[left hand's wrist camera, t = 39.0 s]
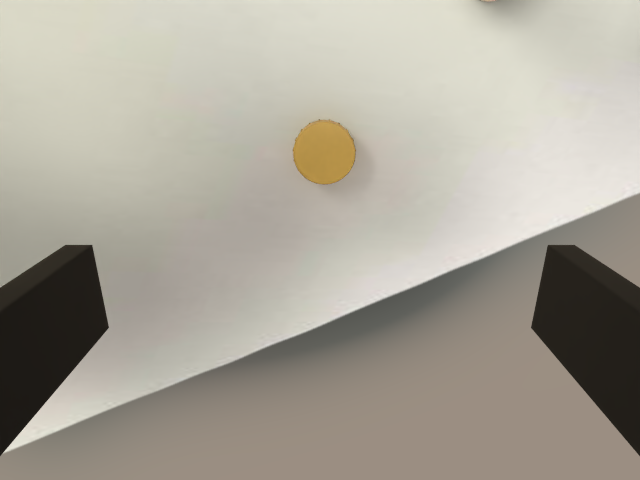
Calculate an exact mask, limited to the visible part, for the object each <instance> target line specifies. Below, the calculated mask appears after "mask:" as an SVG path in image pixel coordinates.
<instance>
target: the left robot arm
mask: <svg viewBox="0 0 640 480" xmlns="http://www.w3.org/2000/svg"><path fill="white" fill-rule="evenodd" d="M108 328H109V326H108V321H107V316H106V311H105V306H104V301H103V297H102V292H101V287H100V282H99V277H98V272H97V267H96V262H95V257H94V252H93V247H92V245H65V246H63V247H62V248H60V249H59V250H57V251H56V252H54V253H53V254H51V255H50V256H48V257H47V258H45V259H43V260H42V261H40V262H39V263H37V264H36V265H34V266H33V267H31V268H30V269H28V270H27V271H25V272H24V273H22V274H21V275H19V276H18V277H16V278H14V279H13V280H11V281H10V282H8V283H7V284H5V285H4V286H2V287H1V288H0V456H1V454H2V453H3V452H4V451H5V450H6V449H7V447H8V446H9V445H10V444H11V443H12V441H13V440H14V439H15V438H16V437H17V436H18V434H19V433H20V432H21V431H22V430H23V428H24V427H25V426H26V425H27V424H28V423H29V421H30V420H31V419H32V418H33V417H34V415H35V414H36V413H37V412H38V411H39V410H40V408H41V407H42V406H43V405H44V404H45V402H46V401H47V400H48V399H49V398H50V397H51V395H52V394H53V393H54V392H55V391H56V389H57V388H58V387H59V386H60V385H61V384H62V382H63V381H64V380H65V379H66V378H67V376H68V375H69V374H70V373H71V372H72V371H73V369H74V368H75V367H76V366H77V365H78V363H79V362H80V361H81V360H82V359H83V358H84V356H85V355H86V354H87V353H88V352H89V351H90V349H91V348H92V347H93V346H94V345H95V343H96V342H97V341H98V340H99V339H100V338H101V336H102V335H103V334H104V333H105V332H106V330H107V329H108ZM531 328H532V329H533V330H534V332H535V333H536V334H537V335H538V336H539V337H540V339H541V340H542V341H543V342H544V343H545V345H546V346H547V347H548V348H549V349H550V350H551V352H552V353H553V354H554V355H555V356H556V358H557V359H558V360H559V361H560V362H561V363H562V365H563V366H564V367H565V368H566V369H567V371H568V372H569V373H570V374H571V375H572V376H573V378H574V379H575V380H576V381H577V382H578V383H579V385H580V386H581V387H582V388H583V389H584V391H585V392H586V393H587V394H588V395H589V397H590V398H591V399H592V400H593V401H594V402H595V404H596V405H597V406H598V407H599V408H600V410H601V411H602V412H603V413H604V414H605V415H606V417H607V418H608V419H609V420H610V421H611V423H612V424H613V425H614V426H615V427H616V428H617V430H618V431H619V432H620V433H621V434H622V435H623V437H624V438H625V439H626V440H627V441H628V443H629V444H630V445H631V446H632V447H633V449H634V450H635V451H636V452H637V453H638V454H639V456H640V288H639V287H638V286H636V285H635V284H633V283H632V282H630V281H629V280H627V279H625V278H624V277H622V276H621V275H619V274H618V273H616V272H615V271H613V270H612V269H610V268H609V267H607V266H606V265H604V264H602V263H601V262H600V261H598V260H596V259H595V258H593V257H592V256H590V255H589V254H587V253H586V252H584V251H583V250H581V249H580V248H578V247H577V246H575V245H548V247H547V252H546V257H545V262H544V267H543V272H542V277H541V282H540V287H539V292H538V297H537V302H536V306H535V311H534V316H533V321H532V326H531Z"/></svg>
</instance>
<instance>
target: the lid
mask: <svg viewBox="0 0 640 480" xmlns="http://www.w3.org/2000/svg"><path fill="white" fill-rule="evenodd" d="M295 141H296V142H295V145H294V148H293V151H294V153H293V154H294V161H295V164H296V167H297V169H298V171H299V172H300V173H301V174H302V175H303V176H304V177H305V178H306V179H308V180H310V181H312V182H314V183H318V184H331V183H334V182H337V181H339V180H341V179H342V178H343V177H345V176H346V175H347V174H348V172H349V171H350V170H351V168H352V166H353V163H354V161H355V151H356V150H355V146H354V143H353V141H354V140H353V138H351V136H350V135H349V133H348V130H347V129H345V128H344V127H343V126H341V125H340V123H336V122H333V121H330V119H329V120H320V119H319V121H315V122H312V123H309V125H307V126H306V127H305V128H304V129H301V132H300V134H299V135H298V137H296V139H295Z"/></svg>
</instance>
